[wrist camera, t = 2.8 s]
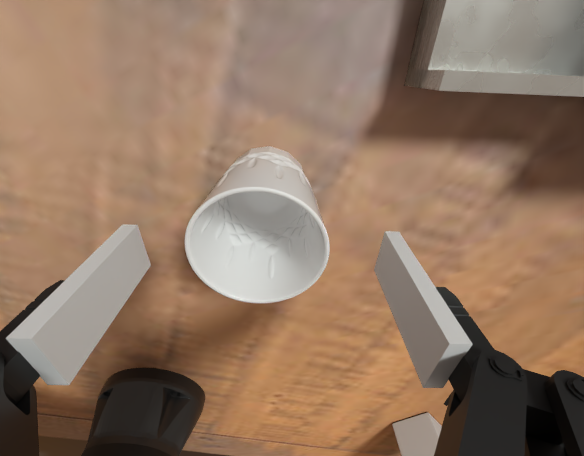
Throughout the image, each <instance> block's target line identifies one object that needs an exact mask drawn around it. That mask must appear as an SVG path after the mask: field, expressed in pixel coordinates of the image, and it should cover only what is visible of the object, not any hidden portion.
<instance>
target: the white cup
mask: <svg viewBox="0 0 584 456" xmlns="http://www.w3.org/2000/svg"><path fill="white" fill-rule="evenodd" d="M185 251H186V255H187V258H188V261H189V263H190V265H191V267H192V269H193V270H194V272H195V273H196V275H197V276H198V277H199V278H200V279H201V280H202V281H203V282H204V283H205V284H206V285H207V286H209V287H210V288H212V289H213V290H215V291H216V292H218V293H220V294H222V295H224V296H226V297H229V298H231V299H235V300H238V301H242V302H248V303H273V302H279V301H283V300H287V299H290V298H292V297H295V296H297V295H299V294H301V293H302V292H304V291H305V290H307V289H308V288H309V287H311V286H312V285H313V284H314V283H315V282H316V281H317V280H318V279H319V277H320V276H321V274H322V273H323V271H324V269H325V267H326V265H327V262H328V258H329V251H330V245H329V238H328V234H327V231H326V228H325V225H324V222H323V219H322V216H321V214H320V211H319V208H318V205H317V201H316V198H315V196H314V194H313V191H312V188H311V186H310V183H309V181H308V179H307V178H306V176H305V174H304V171H303V169H302V166H301V164H300V163H299V162H298V161H297V160H296V159H295V158H294V157H293V156H292V155H291V154H290V153H289V152H287V151H284V150H281V149H278V148H275V147H272V146H266V147H259V148H252V149H250V150H249V151H247V152H246V153H244V154H243V155H241V156H240V157H239V158H237V159H236V161H235V162H234V164H233V165H232V166H231V167H230V168H229V169H228V170H227V171H226V172H225V173H224V175H223V176H222V177H221V178H220V179H219V181H218V182H217V183H216V185H215V186H214V188H213V189H212V190H211V192H210V193H209V194H208V196H207V197H206V198H205V200H204V201H203V203H202V204H201V205H200V207H199V208H198V209H197V211H196V212H195V213H194V215H193V216H192V218H191V219H190V221H189V224H188V226H187V229H186V233H185Z"/></svg>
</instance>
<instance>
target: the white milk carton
mask: <svg viewBox="0 0 584 456" xmlns="http://www.w3.org/2000/svg"><path fill="white" fill-rule="evenodd" d="M392 426H393V429H394V432H395V436H396V439H397V442H398V446H399V449H400V452H401V456H434V453H435V450H436V446H437V443H438V439H439V435H440V432H441V428H442V426H441V425H440V424H439V423H438V422H437V421H436V420H435V419H434V418H433V417H432V416H431V415H430V414H429V413H424V414H421V415H418V416H415V417H412V418H408V419H405V420H402V421H399V422H396V423H393V424H392Z"/></svg>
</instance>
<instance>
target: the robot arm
mask: <svg viewBox="0 0 584 456" xmlns="http://www.w3.org/2000/svg"><path fill="white" fill-rule="evenodd" d="M150 266H151V264H150V261H149V258H148V255H147V252H146V249H145V246H144V243H143V240H142V237H141V234H140V231H139V228H138V225H122V226H121V227H120V228H119V229H118V230H116V231H115V232H114V233H113V234H112V235H111V236H110V237H109V238H108V239H107V240H106V241H105V242H104V243H103V244H102V245H101V246H100V247H99V248H98V249H97V250H96V251H95V252H94V253H93V254H92V255H91V256H90V257H89V258H88V259H87V260H86V261H85V262H84V263H83V264H82V265H80V266H79V267H78V268H77V269H76V270H75V271H74V272H73V273H72V274H71V275H70V276H69V277H68V278H67V279H66V280H60V281H58V282H57V283H55V284H53V285H52V286H50V287H49V288H47V289H45V290H44V291H43V292H42V293H41V294H40V295H39V296H38V297H37V298H36V299H35V301H34V302H31V303H30V304H29V305H28V306H27V307H26V309H25V310H23V311H22V312H21V313H20V314H19V315H17V316H16V317H15V318H14V319H13V320H12V321H11V322H10V323H9V324H8V325H7V326H6V327H5V328H3V329H2V330H1V331H0V456H39V442H38V420H37V398H36V390H35V388H34V386H33V384H34V383H35V381H36V380H37V379H38V378H39V376H40V377H41V378H42V379H43V380H44V381H45V382H46V384H47V385H70V383H71V382H72V380H73V379H74V377H75V376H76V374H77V373H78V371H79V370H80V369H81V367H82V366H83V364H84V363H85V361H86V360H87V358H88V357H89V355H90V354H91V352H92V351H93V349H94V348H95V346H96V345H97V344H98V342H99V341H100V339H101V338H102V336H103V335H104V333H105V332H106V330H107V329H108V327H109V326H110V324H111V323H112V322H113V320H114V319H115V317H116V316H117V314H118V313H119V311H120V310H121V308H122V307H123V305H124V304H125V302H126V301H127V300H128V298H129V297H130V295H131V294H132V292H133V291H134V289H135V288H136V286H137V285H138V283H139V282H140V280H141V279H142V278H143V276H144V275H145V273H146V272H147V270H148V269H149V267H150ZM374 271H375V273H376V275H377V278H378V280H379V283H380V285H381V287H382V290H383V292H384V295H385V297H386V300H387V302H388V304H389V307H390V309H391V312H392V314H393V316H394V319H395V321H396V324H397V326H398V328H399V331H400V333H401V336H402V338H403V340H404V343H405V345H406V348H407V350H408V352H409V355H410V357H411V360H412V362H413V365H414V367H415V369H416V372H417V374H418V377H419V379H420V381H421V384H422V386H423V388H443V387H444V385H445V384H446V382H447V381H448V380H449V381H450V383H451V385H452V387H453V389H454V390H453V392H452V393H451V394H450V396H449V397H448V398H447V400H446V401H445V403H444V404H445V405H446V406H447V405H448V407H447V410H446V414H445V417H444V421H443V425H442V428H441V432H440V435H439V439H438V443H437V446H436V450H435V453H434V456H584V377H582V376H580V375H578V374H576V373H573V372H570V371H565V370H561V371H557V372H555V373H554V374H553V375H552V376H551V377H548V376H544V375H541V374H538V373H534V372H531V371H528V370H524V369H522V368H521V366H520V365H519V364H517V363H516V362H515V361H514V360H513V359H512V358H510V357H509V356H507V355H506V354H504V353H501V352H499V351H496V350H495V349H494V348H493V347H492V346H491V344H490V343H489V341H488V340H487V339H486V337H485V336H484V335H483V333H482V332H481V330H480V329H479V328H478V326H477V325H476V323H475V322H474V321H473V319H472V318H471V317H469V314H468V312H467V311H466V310H465V308H463V305H462V304H461V303H460V301H459V300H458V298H457V297H456V296H455V295H454V294H453V293H451V292H450V291H449V290H448V289H447V288H445V287H435V286H434V284H433V283H432V281H431V280H430V278H429V277H428V275H427V274H426V272H425V271H424V269H423V268H422V266H421V265H420V263H419V262H418V260H417V259H416V257H415V255H414V254H413V252H412V251H411V249H410V248H409V246H408V245H407V243H406V242H405V240H404V239H403V237H402V236H401V234H400V233H399V232H391V231H385V233H384V236H383V240H382V244H381V247H380V251H379V255H378V258H377V262H376V265H375V269H374ZM204 402H205V394H204V391H203V390H202V388H201V387H200V386H199V385H198V384H197V383H195V382H194V381H193V380H191V379H189V378H187V377H185V376H183V375H181V374H178V373H175V372H171V371H167V370H162V369H156V368H133V369H127V370H123V371H120V372H118V373H115V374H114V375H112V376H111V377H109V378H108V380H107V381H106V383H105V385H104V386H103V388H102V390H101V392H100V394H99V397H98V401H97V405H96V409H95V414H94V418H93V422H92V426H91V431H90V435H89V439H88V443H87V445H86V448H85V450H84V452H83V453H82V455H81V456H179V454H180V452H181V451H182V449H183V447H184V445H185V443H186V441H187V440H188V438H189V436H190V434H191V432H192V430H193V428H194V427H195V425H196V423H197V421H198V419H199V417H200V415H201V413H202V410H203V406H204Z"/></svg>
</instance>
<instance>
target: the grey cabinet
mask: <svg viewBox="0 0 584 456" xmlns="http://www.w3.org/2000/svg"><path fill="white" fill-rule="evenodd" d="M404 86H411V87H418V88H424V89H431V90H438V91H458V92H482V93H506V94H529V95H553V96H577V97H584V0H424V3H423V7H422V11H421V16H420V20H419V24H418V29H417V33H416V37H415V41H414V46H413V50H412V54H411V58H410V63H409V67H408V71H407V76H406V80H405V84H404Z"/></svg>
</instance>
